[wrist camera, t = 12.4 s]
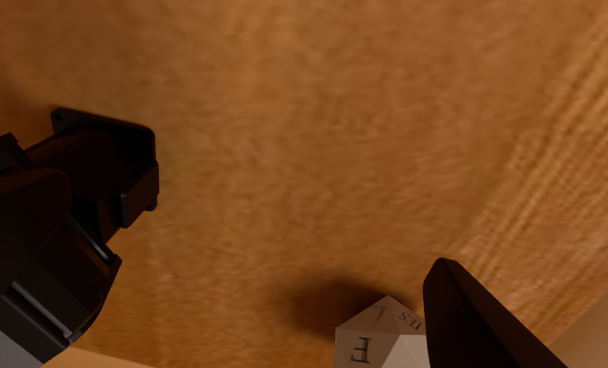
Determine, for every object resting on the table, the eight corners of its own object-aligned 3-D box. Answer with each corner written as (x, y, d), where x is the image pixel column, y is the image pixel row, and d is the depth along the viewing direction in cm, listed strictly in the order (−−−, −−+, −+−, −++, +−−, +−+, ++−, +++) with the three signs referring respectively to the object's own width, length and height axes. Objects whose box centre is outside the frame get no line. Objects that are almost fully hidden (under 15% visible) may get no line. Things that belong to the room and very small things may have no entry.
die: (449, 282, 27) (405, 346, 19) (476, 390, 27) (443, 501, 19) (358, 282, 32) (294, 333, 24) (380, 373, 32) (323, 453, 24)
